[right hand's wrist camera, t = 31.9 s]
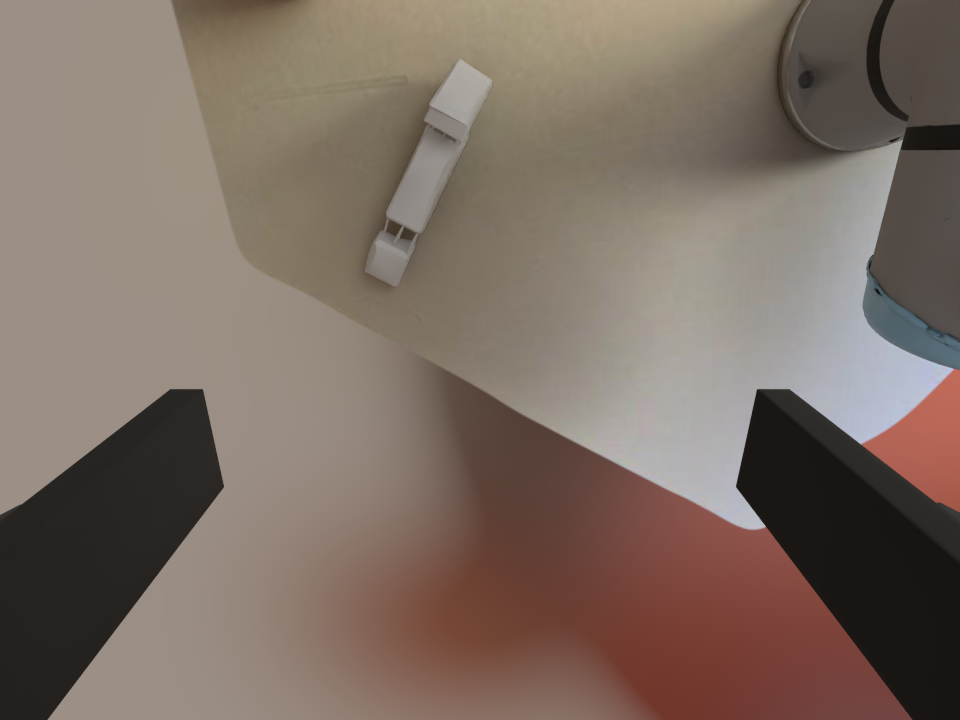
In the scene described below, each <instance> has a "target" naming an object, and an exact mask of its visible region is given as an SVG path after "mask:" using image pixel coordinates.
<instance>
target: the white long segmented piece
mask: <svg viewBox="0 0 960 720" xmlns="http://www.w3.org/2000/svg"><path fill="white" fill-rule="evenodd" d="M491 87H492V82H491V79H490V78H489V77H487V76H485V75H484V74H482V73H481V72H479V71H477V70H476V69H474V68H473V67H471V66H470V65H468V64H467V63H465V62H464V61H462V60H461V59H457V60H456V61H455V62H454V63H453V65H452V67H451V69H450V71H449V73H448V74H447V76H446V78H445V79H444V81H443V82H442V84H441V86H440V87H439V89H438V90H437V92H436V94H435V95H434V97H433V99H432V100H431V102H430V103H429V105H430V108H429V110H428V112H427V114H426V116H425V118H424V121H425V122H427V123H428V124H427V126H426V127H425V130H424V132H423V135H422V137H421V139H420V141H419V143H418V145H417V147H416V149H415V151H414V154H413V156H412V158H411V160H410V162H409V165H408V167H407V169H406V171H405V173H404V175H403V178H402V180H401V182H400V184H399V186H398V188H397V190H396V192H395V194H394V196H393V198H392V200H391V202H390V204H389V206H388V208H387V210H386V217H387V220H386V225H385V228H384V230H381V231H380V233H379V234H378V236H377V237H376V238H375V240H374V241H373V243H372V245H371V247H370V250H369V253H368V256H367V261H366V266H365V270H364V271H365V272H366V273H368V274H370V275H372V276H374V277H376V278H378V279H380V280H382V281H384V282H386V283H388V284H390V285H392V286H395V287H396V286H397V285H398V284H399V282H400V279H401V277H402V276H403V274H404V272H405V269H406V267H407V265H408V263H409V260H410V258H411V256H412V253H413V251H414V249H415V246H416V243H415V242H416V240H417V237H418V235H419V234H421V233H422V232H423V231H424V230H425V228H426V226H427V224H428V222H429V220H430V218H431V216H432V214H433V211H434V209H435V207H436V205H437V203H438V201H439V199H440V197H441V195H442V193H443V191H444V188H445V186H446V184H447V182H448V180H449V178H450V176H451V174H452V172H453V170H454V168H455V166H456V164H457V161H458V159H459V157H460V155H461V153H462V151H463V149H464V147H465V145H466V143H467V141H468V139H469V131H470V129H471V127H472V125H473V123H474V121H475V119H476V117H477V116H478V114H479V112H480V110H481V108H482V106H483V104H484V102H485V101H486V98H487V96H488V94H489V92H490V89H491ZM390 220H392V221H394V222H396V223H398V224H400V225H402V227H401V229H400V231H399V232H398V234H397V236H395V235H393V234H390V233H388V232H386V230H387V226H388V224H389V221H390ZM404 227H406V228H407V229H409V230H411V231H413V232H415V233H416V234H415V237H414V239H413V241H412V240H407V239H402V238H400V236H401V234H402V231H403V229H404Z"/></svg>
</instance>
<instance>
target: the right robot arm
mask: <svg viewBox="0 0 960 720" xmlns="http://www.w3.org/2000/svg"><path fill="white" fill-rule="evenodd" d="M778 83H779V92H780V97H781V101H782V104H783V107H784V109H785V112H786V114H787V116H788V118H789V120H790V121H791V123H792V124H793V126H794V127H795V128H796V129H797V130H798V131H799V132H800V133H801V134H802V135H803V136H804V137H805V138H807V139H808V140H810V141H811V142H813V143H815V144H817V145H819V146H822V147H825V148H829V149H833V150H845V151H860V150H870V149H875V148H879V147H882V146H886V145H889V144H892V143H895V142H898V141H900V140H902V139H903V142H902V146H901V150H900V153H899V157H898V161H897V165H896V169H895V173H894V177H893V180H892V184H891V188H890V192H889V196H888V200H887V204H886V208H885V212H884V216H883V220H882V224H881V228H880V232H879V236H878V240H877V244H876V248H875V252H874V255H872V256H871V257H870V259H869V261H868V263H867V268H866V270H867V278H868V279H867V284H866V289H865V294H864V299H863V310H864V314H865V317H866V320H867V322H868V324H869V325H870V326H871V327H872V328H873V330H874V331H875V332H876V333H878V334H879V335H880V336H881V337H883V338H884V339H885V340H887V341H888V342H890V343H892V344H893V345H895V346H897V347H899V348H901V349H903V350H905V351H907V352H909V353H911V354H914V355H916V356H918V357H921V358H923V359H926V360H929V361H931V362H934V363H937V364H940V365H943V366H947V367H950V368H954V369H958V370H960V0H804V1H803V2H802V4H801V5H800V7H799V8H798V10H797V12H796V13H795V15H794V17H793V19H792V21H791V23H790V25H789V28H788V30H787V33H786V35H785V38H784V41H783V45H782V49H781V54H780V59H779V67H778ZM223 488H224V485H223V480H222V476H221V471H220V466H219V462H218V457H217V452H216V448H215V443H214V438H213V434H212V429H211V425H210V420H209V415H208V411H207V406H206V402H205V397H204V392H203V389H170V390H169V391H168V392H166V393H165V394H164V395H163V396H161V397H160V398H159V399H157V400H156V401H155V402H154V403H152V404H151V405H150V406H148V407H147V408H146V409H145V410H143V411H142V412H141V413H139V414H138V415H137V416H135V417H134V418H133V419H132V420H130V421H129V422H128V423H126V424H125V425H124V426H123V427H121V428H120V429H119V430H117V431H116V432H115V433H114V434H112V435H111V436H110V437H108V438H107V439H106V440H105V441H103V442H102V443H101V444H99V445H98V446H97V447H95V448H94V449H93V450H92V451H90V452H89V453H88V454H86V455H85V456H84V457H83V458H81V459H80V460H79V461H77V462H76V463H75V464H73V465H72V466H71V467H70V468H68V469H67V470H66V471H64V472H63V473H62V474H61V475H59V476H58V477H57V478H55V479H54V480H53V481H52V482H50V483H49V484H48V485H46V486H45V487H44V488H43V489H41V490H40V491H39V492H37V493H36V494H35V495H34V496H32V497H31V498H30V499H28V500H27V501H26V502H24V503H23V504H22V505H19V506H17V507H15V508H13V509H11V510H9V511H7V512H5V513H3V514H1V515H0V720H47V719H48V718H49V717H50V716H51V714H52V713H53V712H54V710H55V709H56V708H57V706H58V705H59V704H60V702H61V701H62V700H63V698H64V697H65V696H66V694H67V693H68V692H69V690H70V689H71V688H72V687H73V685H74V684H75V683H76V681H77V680H78V679H79V677H80V676H81V675H82V673H83V672H84V671H85V669H86V668H87V667H88V665H89V664H90V663H91V662H92V660H93V659H94V658H95V656H96V655H97V654H98V652H99V651H100V650H101V648H102V647H103V646H104V644H105V643H106V642H107V640H108V639H109V638H110V636H111V635H112V634H113V632H114V631H115V630H116V629H117V627H118V626H119V625H120V623H121V622H122V621H123V619H124V618H125V617H126V615H127V614H128V613H129V611H130V610H131V609H132V608H133V606H134V605H135V604H136V602H137V601H138V600H139V598H140V597H141V596H142V594H143V593H144V592H145V590H146V589H147V588H148V586H149V585H150V584H151V582H152V581H153V580H154V578H155V577H156V576H157V575H158V573H159V572H160V571H161V569H162V568H163V567H164V565H165V564H166V563H167V561H168V560H169V559H170V557H171V556H172V555H173V553H174V552H175V551H176V550H177V548H178V547H179V546H180V544H181V543H182V542H183V540H184V539H185V538H186V536H187V535H188V534H189V532H190V531H191V530H192V528H193V527H194V526H195V524H196V523H197V522H198V521H199V519H200V518H201V517H202V515H203V514H204V513H205V511H206V510H207V509H208V507H209V506H210V505H211V503H212V502H213V501H214V499H215V498H216V497H217V495H218V494H219V493H220V491H221V490H222V489H223ZM736 488H737V489H738V490H739V492H740V493H741V494H742V495H743V497H744V498H745V499H746V501H747V502H748V503H749V505H750V506H751V507H752V509H753V510H754V511H755V513H756V514H757V515H758V517H759V518H760V519H761V521H762V522H763V523H764V524H765V526H766V527H767V528H768V530H769V531H770V532H771V534H772V535H773V536H774V538H775V539H776V540H777V542H778V543H779V544H780V546H781V547H782V548H783V549H784V551H785V552H786V553H787V555H788V556H789V557H790V559H791V560H792V561H793V563H794V564H795V565H796V567H797V568H798V569H799V571H800V572H801V573H802V575H803V576H804V577H805V579H806V580H807V581H808V582H809V584H810V585H811V586H812V588H813V589H814V590H815V592H816V593H817V594H818V596H819V597H820V598H821V600H822V601H823V602H824V604H825V605H826V606H827V608H828V609H829V610H830V611H831V613H832V614H833V615H834V617H835V618H836V619H837V621H838V622H839V623H840V625H841V626H842V627H843V629H844V630H845V631H846V632H847V634H848V635H849V636H850V638H851V639H852V640H853V642H854V643H855V644H856V646H857V647H858V648H859V650H860V651H861V652H862V654H863V655H864V656H865V658H866V659H867V660H868V661H869V663H870V664H871V665H872V667H873V668H874V669H875V671H876V672H877V673H878V675H879V676H880V677H881V679H882V680H883V681H884V683H885V684H886V685H887V687H888V688H889V689H890V691H891V692H892V693H893V694H894V696H895V697H896V698H897V700H898V701H899V702H900V704H901V705H902V706H903V708H904V709H905V710H906V712H907V713H908V714H909V716H910V717H911V718H912V720H960V513H959V512H957V511H956V510H954V509H952V508H950V507H948V506H946V505H944V504H942V503H936V502H934V501H933V500H932V499H930V498H929V497H928V496H927V495H925V494H924V493H923V492H921V491H920V490H919V489H917V488H916V487H915V486H914V485H912V484H911V483H910V482H908V481H907V480H906V479H905V478H903V477H902V476H901V475H899V474H898V473H897V472H896V471H894V470H893V469H892V468H890V467H889V466H888V465H887V464H885V463H884V462H883V461H881V460H880V459H879V458H877V457H876V456H875V455H873V454H872V453H871V452H870V451H868V450H867V449H866V448H865V447H863V446H862V445H861V444H859V443H858V442H857V441H856V440H854V439H853V438H852V437H850V436H849V435H848V434H846V433H845V432H844V431H843V430H841V429H840V428H839V427H837V426H836V425H835V424H834V423H832V422H831V421H830V420H828V419H827V418H826V417H825V416H823V415H822V414H821V413H819V412H818V411H817V410H816V409H814V408H813V407H812V406H810V405H809V404H808V403H806V402H805V401H804V400H803V399H801V398H800V397H799V396H797V395H796V394H795V393H794V392H792V391H791V390H790V389H757V392H756V397H755V402H754V406H753V411H752V415H751V420H750V425H749V429H748V434H747V438H746V443H745V448H744V452H743V457H742V462H741V466H740V471H739V475H738V480H737V485H736Z"/></svg>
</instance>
